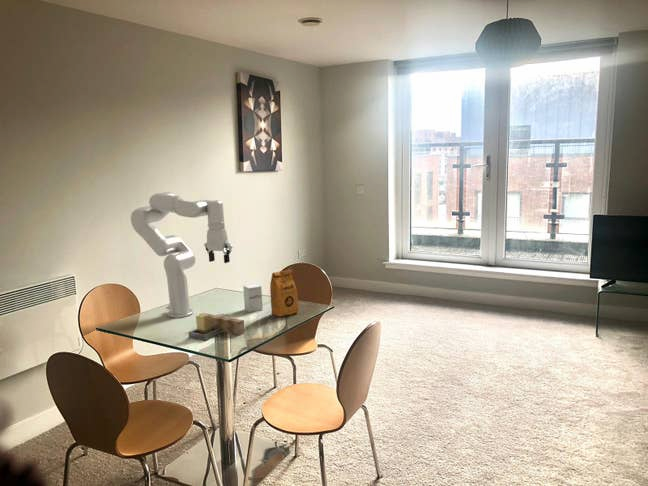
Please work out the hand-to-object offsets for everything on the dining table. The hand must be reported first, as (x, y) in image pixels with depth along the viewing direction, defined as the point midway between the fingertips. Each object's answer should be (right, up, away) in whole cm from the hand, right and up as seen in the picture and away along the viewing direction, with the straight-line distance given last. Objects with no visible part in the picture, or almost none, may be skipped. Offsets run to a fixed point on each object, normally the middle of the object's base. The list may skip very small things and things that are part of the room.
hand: (219, 261), depth 254 cm
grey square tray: (-2, -32, -20) cm, 38 cm away
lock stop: (-2, -32, -20) cm, 37 cm away
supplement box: (+14, -25, +18) cm, 34 cm away
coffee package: (+31, -26, +7) cm, 41 cm away
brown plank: (+4, -31, -13) cm, 34 cm away
